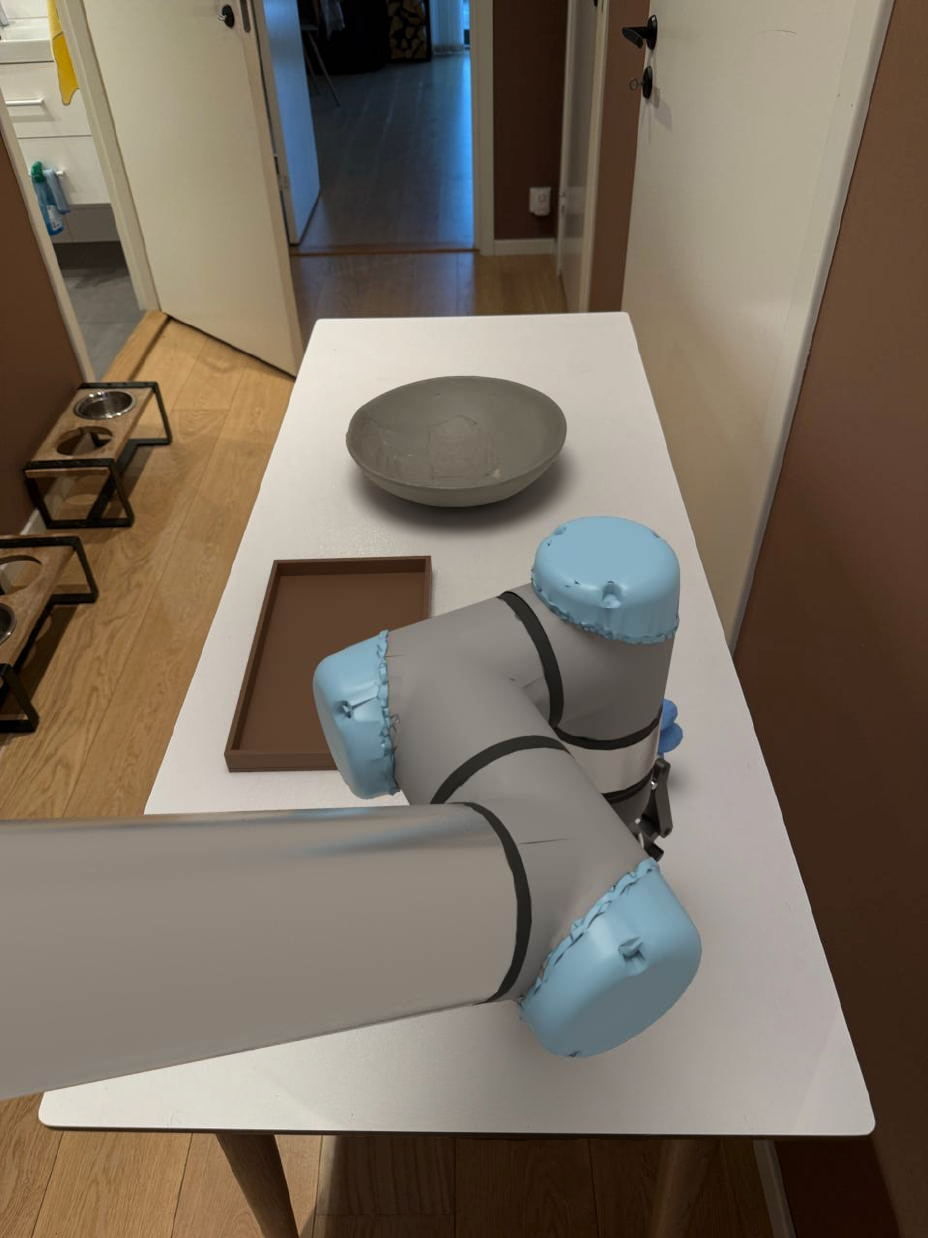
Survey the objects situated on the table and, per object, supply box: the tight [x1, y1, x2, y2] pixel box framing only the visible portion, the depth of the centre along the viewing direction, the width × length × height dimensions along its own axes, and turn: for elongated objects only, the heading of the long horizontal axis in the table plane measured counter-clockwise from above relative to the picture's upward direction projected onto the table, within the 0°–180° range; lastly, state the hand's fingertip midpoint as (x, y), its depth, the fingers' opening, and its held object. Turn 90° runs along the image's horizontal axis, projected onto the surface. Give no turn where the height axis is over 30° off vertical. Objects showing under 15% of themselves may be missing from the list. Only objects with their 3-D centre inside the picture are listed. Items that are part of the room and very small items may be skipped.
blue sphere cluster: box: [657, 697, 684, 760], centre depth 80 cm, size 12×7×12 cm, turn 90°
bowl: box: [345, 375, 568, 508], centre depth 119 cm, size 27×28×8 cm
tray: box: [223, 554, 433, 773], centre depth 96 cm, size 29×18×2 cm, turn 0°
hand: (577, 940), depth 71 cm, fingers closed on mug, 10 cm apart
